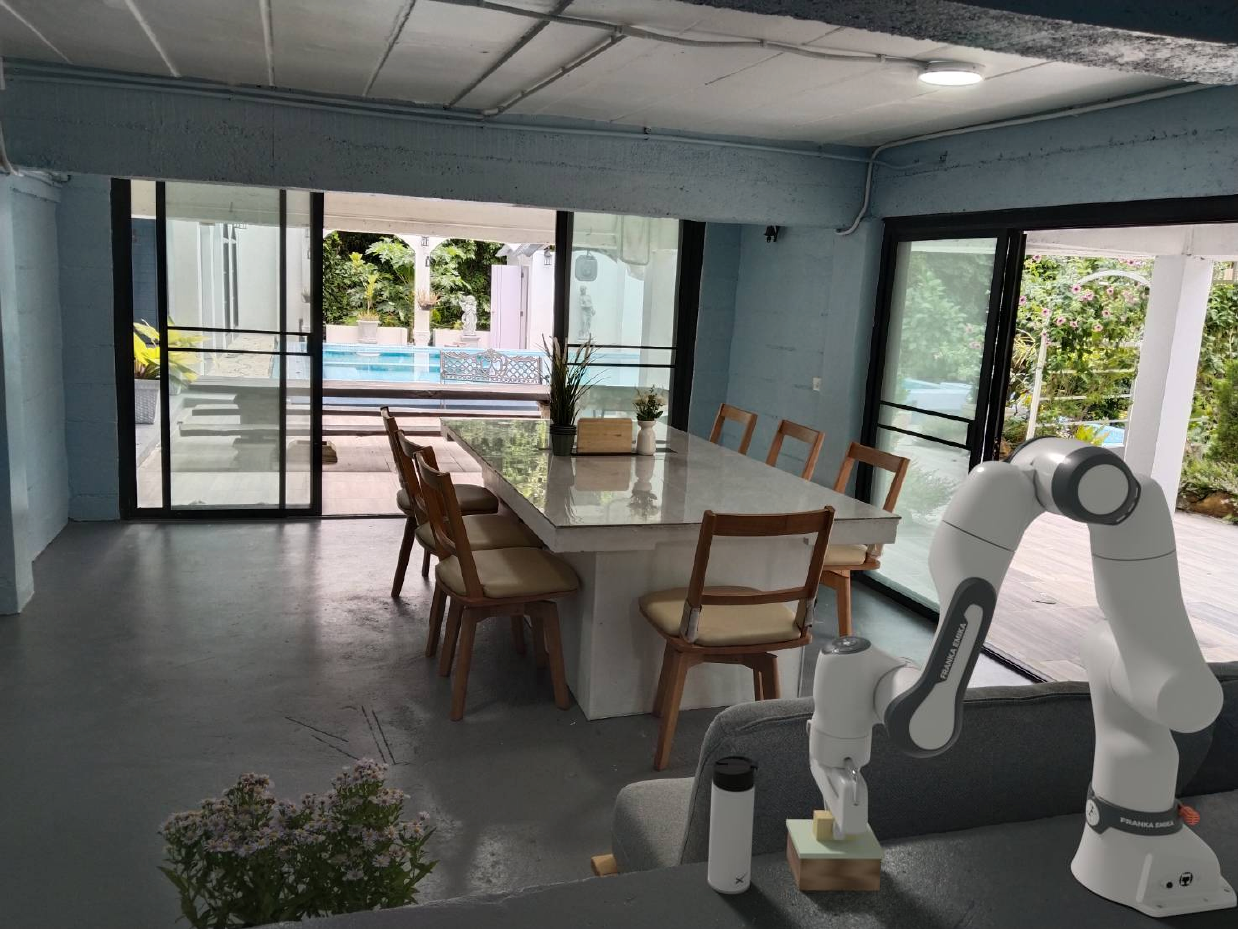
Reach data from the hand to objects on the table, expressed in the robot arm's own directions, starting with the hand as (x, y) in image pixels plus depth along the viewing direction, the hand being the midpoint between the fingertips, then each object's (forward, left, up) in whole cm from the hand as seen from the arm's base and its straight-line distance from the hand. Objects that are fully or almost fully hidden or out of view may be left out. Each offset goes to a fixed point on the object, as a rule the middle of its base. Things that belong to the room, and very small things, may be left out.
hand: (834, 830), depth 147 cm
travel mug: (+16, +3, -8) cm, 18 cm away
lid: (0, 0, -2) cm, 2 cm away
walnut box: (0, 0, -8) cm, 8 cm away
